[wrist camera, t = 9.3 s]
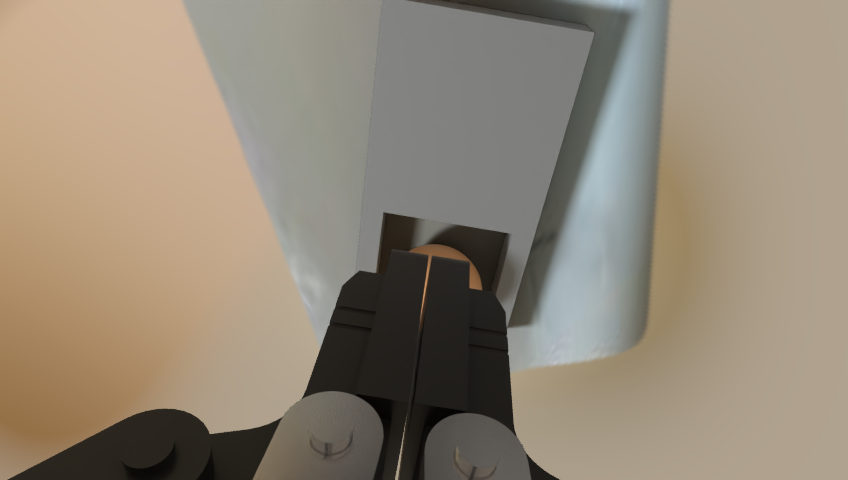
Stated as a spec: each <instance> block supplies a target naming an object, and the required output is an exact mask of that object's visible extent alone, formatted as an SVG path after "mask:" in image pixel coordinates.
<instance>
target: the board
mask: <svg viewBox="0 0 848 480" xmlns="http://www.w3.org/2000/svg"><path fill="white" fill-rule="evenodd" d="M594 34H595V32H594V31H593V30H591V29H590V28H589V27H588V26H587V25H583V24H577V23H572V22H566V21H560V20H554V19H548V18H542V17H536V16H531V15H525V14H519V13H513V12H507V11H501V10H495V9H490V8H484V7H478V6H472V5H466V4H460V3H455V2H449V1H443V0H382V6H381V16H380V26H379V36H378V47H377V57H376V67H375V77H374V88H373V98H372V108H371V118H370V129H369V139H368V149H367V159H366V170H365V180H364V190H363V201H362V211H361V221H360V231H359V242H358V252H357V262H356V272H355V274H356V273H357V272H358V271H359V270H360V271H366V272H372V273H378V274H379V266H380V258H381V250H382V242H383V234H384V226H385V218H386V213H391V214H397V215H403V216H409V217H415V218H421V219H427V220H433V221H439V222H445V223H451V224H456V225H462V226H468V227H474V228H480V229H486V230H492V231H498V232H504V233H506V235H505V239H504V243H503V246H502V250H501V254H500V258H499V262H498V265H497V269H496V273H495V277H494V281H493V284H492V288H491V292H494V294H495V296H496V297H497V299H498V300H499V302H500V304H501V305H502V307H503V309H504V310H505V312H506V325H507V327H508V323H509V320H510V317H511V313H512V310H513V306H514V303H515V300H516V296H517V293H518V290H519V286H520V283H521V279H522V276H523V273H524V269H525V266H526V263H527V259H528V256H529V253H530V249H531V246H532V242H533V239H534V236H535V232H536V229H537V226H538V222H539V219H540V216H541V212H542V209H543V205H544V202H545V199H546V195H547V192H548V189H549V185H550V182H551V179H552V175H553V172H554V168H555V165H556V162H557V158H558V155H559V152H560V148H561V145H562V142H563V138H564V135H565V131H566V128H567V125H568V121H569V118H570V115H571V111H572V108H573V104H574V101H575V98H576V94H577V91H578V88H579V84H580V81H581V78H582V74H583V71H584V67H585V64H586V61H587V57H588V54H589V51H590V47H591V44H592V41H593V37H594Z"/></svg>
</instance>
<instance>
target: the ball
mask: <svg viewBox="0 0 848 480" xmlns="http://www.w3.org/2000/svg"><path fill="white" fill-rule="evenodd" d="M408 252H414V253H420V254H426V255H429V258H428V266H427V273H426V281H425V288H424V295H423V302H424V297H425V291H426V285H427V280H428V274H429V269H430V263H431V258H432V255H433V256H439V257H445V258H451V259H458V260H464V261H469V262H470V287H469V288H472V289H478V290H482V284H481V279H480V276H479V274H478V272H477V270H476V268H475V266H474V265H473V263H472V262H471V261H470V260H469V259H468V258H467V257H466V256H465V255H464V254H462V253H461V252H459V251H458V250H456V249H454V248H451V247H449V246H445V245H438V244H429V245H423V246H419V247H416V248H414V249H412V250H410V251H408ZM422 308H423V303H422ZM421 313H422V310H421ZM420 319H421V318H420Z"/></svg>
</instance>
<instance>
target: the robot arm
mask: <svg viewBox="0 0 848 480" xmlns="http://www.w3.org/2000/svg"><path fill="white" fill-rule="evenodd" d="M428 258H429V255H426V254H420V253H414V252H408V251H401V250H395V249H391V253H390V257H389V261H388V265H387V269H386V273H385V274H378V273H372V272H366V271H360V270H359V271H358V272H357V273H356V274H355V275H354V276H353V277H352V278H350V279H349V280H348V281H347V282H346V283H345V284H344V285H343V286H342V289H341V292H340V294H339V297H338V300H337V303H336V307H335V309H334V312H333V314H332V317H331V320H330V325H329V326H328V329H327V332H326V334H325V337H324V340H323V343H322V346H321V349H320V352H319V354H318V357H317V360H316V363H315V366H314V369H313V372H312V375H311V377H310V380H309V383H308V386H307V389H306V391H305V393H304V396H303V397H302V399H301V400H300V401H298V402H296V403H295V404H294V405H293V406H292V407H290V408H289V410H288V411H287V412H286V413H285V414H284V416H283V417H282V418H280V419H278V420H277V421H274V422H272V423H270V424H268V425H264V426H261V427H258V428H253V429H248V430H240V431H233V432H224V433H217V434H209V431H208V429H207V428H206V426H205V425H204V423H203V422H202V421H200V420H199V419H198V418H197V417H195V416H194V415H192V414H190V413H187V412H185V411H181V410H176V409H156V410H150V411H145V412H142V413H139V414H135V415H133V416H131V417H128V418H126V419H124V420H122V421H120V422H118V423H116V424H114V425H113V426H110V427H109V428H107V429H105V430H103V431H101V432H99V433H97V434H95V435H93V436H91V437H89V438H87V439H85V440H84V441H82V442H80V443H78V444H76V445H74V446H72V447H70V448H68V449H66V450H64V451H62V452H60V453H58V454H56V455H55V456H53V457H51V458H49V459H47V460H45V461H43V462H41V463H39V464H37V465H35V466H33V467H31V468H29V469H27V470H26V471H24V472H22V473H20V474H18V475H16V476H14V477H12V478H10V479H8V480H395V476H396V471H397V465H398V460H399V454H400V449H401V444H402V438H403V432H404V427H405V433H404V440H403V447H402V454H401V462H400V470H399V477H398V480H559V479H558V478H556V477H554V476H552V475H550V474H549V473H547V472H546V471H544V470H543V469H542V468H540V467H539V466H538V465H537V464H536V463H535V462H534V461H532V459H531V458H530V457H529V456H528V455H527V454H526V452H525V450H524V448H523V446H522V444H521V443H520V441H519V439H518V438H517V436H516V433H515V430H514V424H513V409H512V396H511V381H510V367H509V355H508V339H507V337H506V336H507V325H506V312H505V310H504V309H503V307H502V305H501V304H500V302H499V300H498V299H497V297H496V296H495V294H494V292H490V291H484V290H478V289H472V288H469V287H470V262H469V261H464V260H458V259H451V258H445V257H439V256H433V255H432V258H431V263H430V269H429V274H428V280H427V285H426V291H425V297H424V302H423V295H424V288H425V281H426V273H427V266H428ZM422 303H423V308H422ZM421 310H422V313H421ZM420 318H421V319H420ZM406 416H407V418H406ZM405 422H406V425H405Z"/></svg>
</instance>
